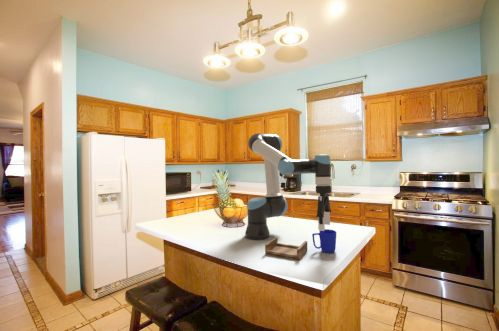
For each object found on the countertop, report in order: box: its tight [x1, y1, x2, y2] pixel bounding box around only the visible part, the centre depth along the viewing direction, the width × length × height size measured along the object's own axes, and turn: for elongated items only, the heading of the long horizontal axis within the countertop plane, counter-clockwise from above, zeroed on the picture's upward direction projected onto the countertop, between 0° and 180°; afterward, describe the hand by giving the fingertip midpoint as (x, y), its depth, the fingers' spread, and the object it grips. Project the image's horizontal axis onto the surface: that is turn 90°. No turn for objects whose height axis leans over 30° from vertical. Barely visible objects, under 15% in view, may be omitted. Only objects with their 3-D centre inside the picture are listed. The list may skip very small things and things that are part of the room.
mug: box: [312, 228, 337, 254], centre depth 126 cm, size 8×12×10 cm
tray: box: [264, 236, 308, 261], centre depth 125 cm, size 17×13×5 cm
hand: (324, 227), depth 126 cm, fingers open, 13 cm apart
